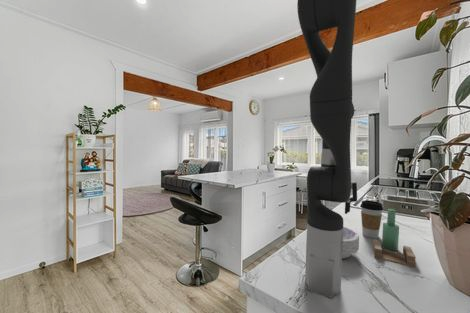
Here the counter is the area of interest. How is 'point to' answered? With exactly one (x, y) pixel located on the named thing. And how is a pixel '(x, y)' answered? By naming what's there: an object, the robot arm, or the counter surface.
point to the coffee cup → (371, 218)
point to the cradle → (394, 254)
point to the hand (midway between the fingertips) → (331, 210)
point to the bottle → (390, 232)
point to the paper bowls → (349, 242)
